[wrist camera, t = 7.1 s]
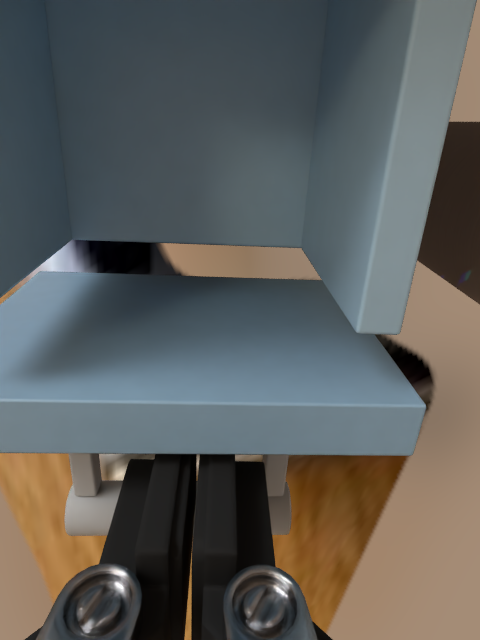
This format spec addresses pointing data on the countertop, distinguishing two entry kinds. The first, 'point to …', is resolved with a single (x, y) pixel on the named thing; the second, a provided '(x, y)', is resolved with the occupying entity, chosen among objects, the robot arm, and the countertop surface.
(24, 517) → the countertop surface
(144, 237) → the drawer
